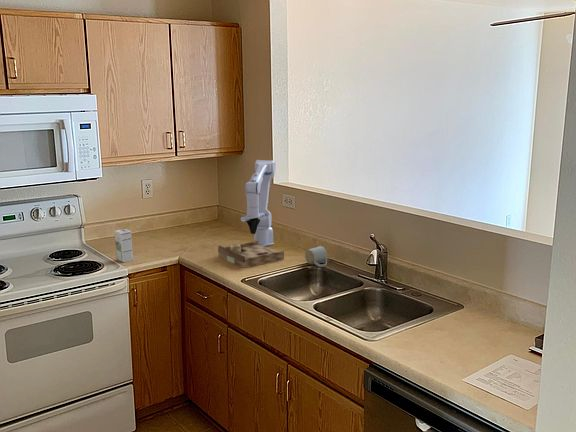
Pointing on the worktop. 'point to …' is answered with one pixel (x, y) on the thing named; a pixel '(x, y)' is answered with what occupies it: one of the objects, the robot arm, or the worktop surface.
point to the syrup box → (123, 245)
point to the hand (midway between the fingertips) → (253, 233)
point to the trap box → (250, 254)
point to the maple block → (235, 248)
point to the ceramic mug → (316, 256)
